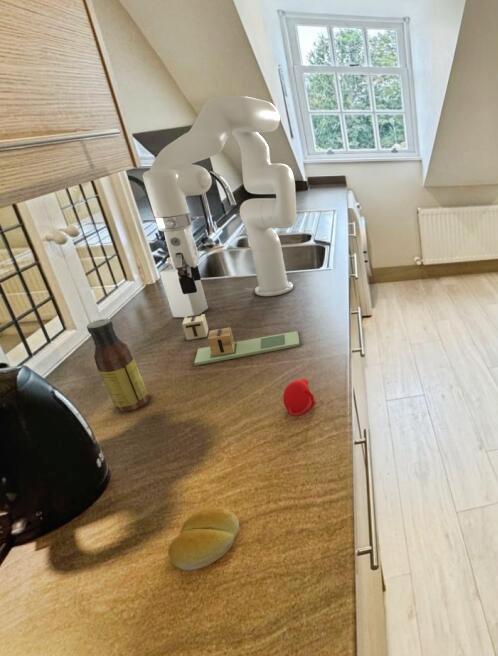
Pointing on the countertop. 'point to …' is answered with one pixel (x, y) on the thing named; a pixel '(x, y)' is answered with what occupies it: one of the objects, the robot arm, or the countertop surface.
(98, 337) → the sauce bottle
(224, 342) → the letter I
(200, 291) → the milk carton
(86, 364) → the countertop surface
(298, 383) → the cap
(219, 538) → the bread roll
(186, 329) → the letter T
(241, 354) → the word mat
